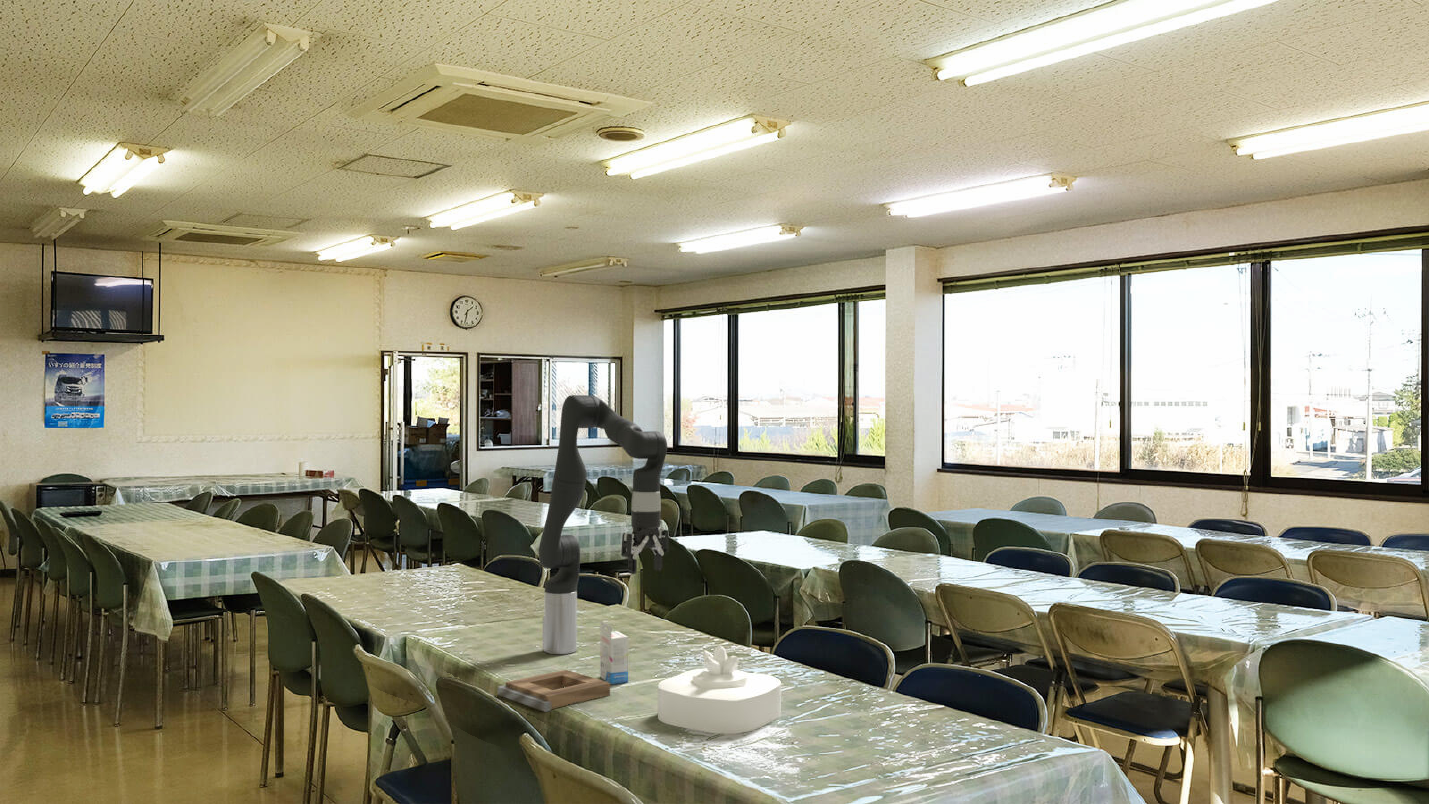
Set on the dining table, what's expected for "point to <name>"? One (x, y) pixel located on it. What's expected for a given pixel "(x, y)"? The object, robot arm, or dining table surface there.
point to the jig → (545, 699)
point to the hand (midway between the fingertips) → (645, 571)
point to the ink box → (613, 655)
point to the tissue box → (719, 697)
